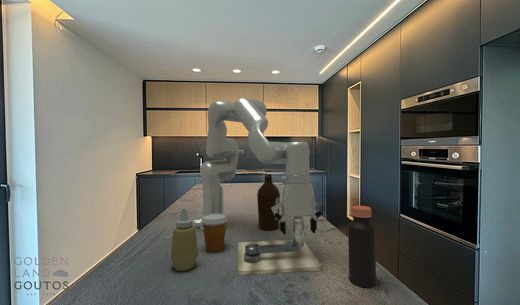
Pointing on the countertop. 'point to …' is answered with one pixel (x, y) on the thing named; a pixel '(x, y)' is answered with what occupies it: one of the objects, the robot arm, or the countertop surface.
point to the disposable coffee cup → (214, 231)
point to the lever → (297, 242)
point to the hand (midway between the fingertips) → (298, 232)
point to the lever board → (276, 260)
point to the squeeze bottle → (184, 244)
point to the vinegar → (362, 248)
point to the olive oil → (268, 204)
